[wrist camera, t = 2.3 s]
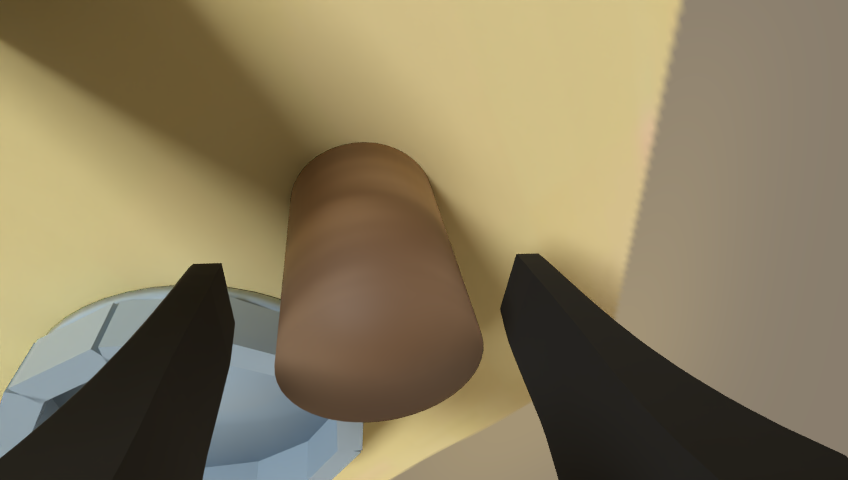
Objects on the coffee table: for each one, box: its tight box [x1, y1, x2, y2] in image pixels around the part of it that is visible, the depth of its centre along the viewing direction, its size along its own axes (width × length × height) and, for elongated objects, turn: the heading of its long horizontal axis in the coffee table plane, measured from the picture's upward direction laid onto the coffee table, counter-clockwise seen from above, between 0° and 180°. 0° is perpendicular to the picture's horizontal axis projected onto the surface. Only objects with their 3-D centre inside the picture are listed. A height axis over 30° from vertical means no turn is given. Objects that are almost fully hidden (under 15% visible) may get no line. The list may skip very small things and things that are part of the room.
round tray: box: [0, 286, 363, 480], centre depth 18 cm, size 12×12×2 cm
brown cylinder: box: [274, 142, 483, 422], centre depth 12 cm, size 4×4×6 cm
